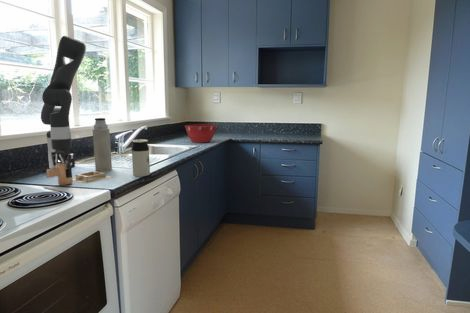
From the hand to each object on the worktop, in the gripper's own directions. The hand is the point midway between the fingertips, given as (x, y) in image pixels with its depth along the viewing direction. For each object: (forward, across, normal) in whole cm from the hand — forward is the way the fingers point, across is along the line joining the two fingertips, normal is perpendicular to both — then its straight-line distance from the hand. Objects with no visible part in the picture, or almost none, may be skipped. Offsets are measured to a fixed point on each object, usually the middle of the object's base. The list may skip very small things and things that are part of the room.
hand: (64, 176), depth 138 cm
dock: (+5, +1, -13) cm, 14 cm away
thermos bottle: (+5, +12, -28) cm, 31 cm away
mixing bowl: (+5, +43, -151) cm, 157 cm away
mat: (+5, 0, 0) cm, 5 cm away
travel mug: (+5, -13, -31) cm, 34 cm away
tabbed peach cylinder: (+3, 0, +2) cm, 4 cm away
